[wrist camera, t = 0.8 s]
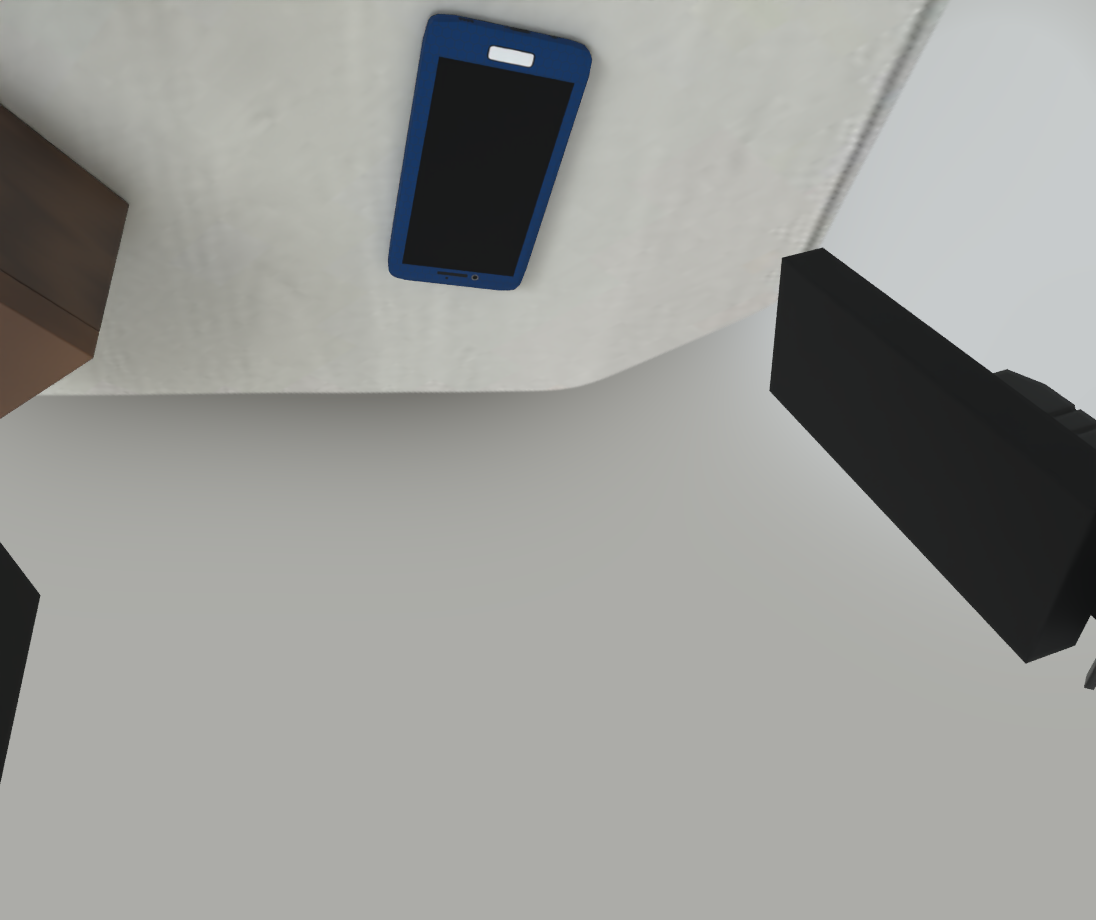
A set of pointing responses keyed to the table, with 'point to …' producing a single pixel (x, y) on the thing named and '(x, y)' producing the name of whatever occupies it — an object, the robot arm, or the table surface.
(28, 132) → the walnut shelf
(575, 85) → the cell phone
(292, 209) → the table surface
